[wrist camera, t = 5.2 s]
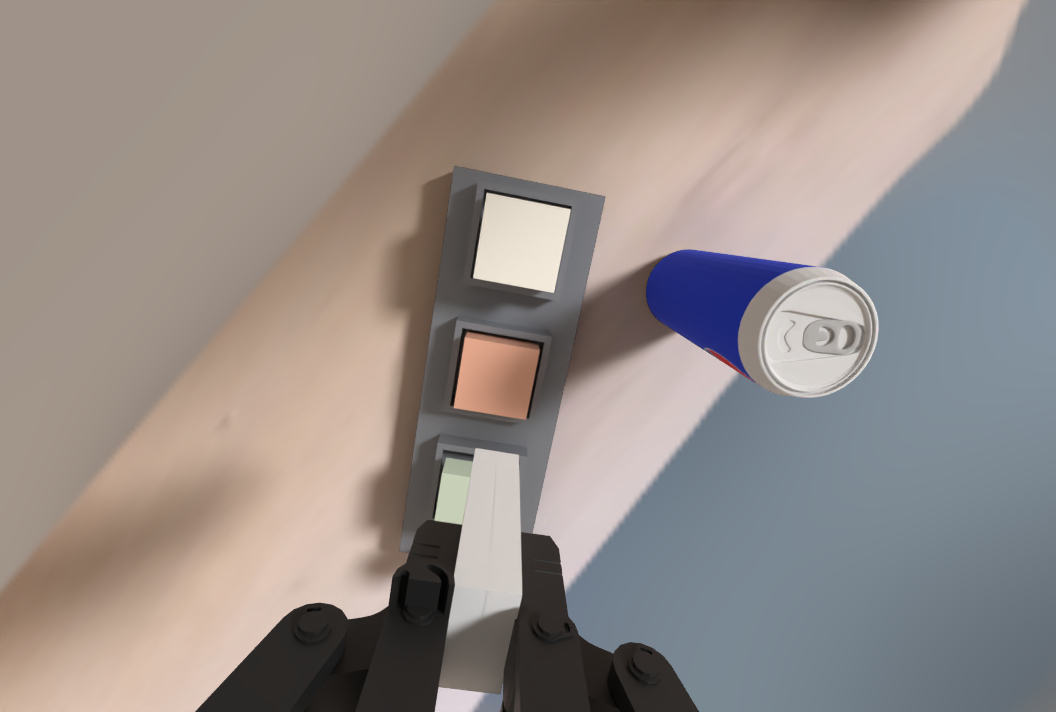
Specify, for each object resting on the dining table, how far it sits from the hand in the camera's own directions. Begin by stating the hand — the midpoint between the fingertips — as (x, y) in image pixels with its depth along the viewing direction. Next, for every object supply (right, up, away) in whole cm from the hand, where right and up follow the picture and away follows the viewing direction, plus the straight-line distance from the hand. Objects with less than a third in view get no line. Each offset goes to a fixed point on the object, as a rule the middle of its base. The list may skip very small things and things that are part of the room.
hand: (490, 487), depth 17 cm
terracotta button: (-1, +4, +14) cm, 15 cm away
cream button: (+1, +11, +11) cm, 15 cm away
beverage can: (+11, +9, +16) cm, 22 cm away
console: (-1, +3, +17) cm, 17 cm away
